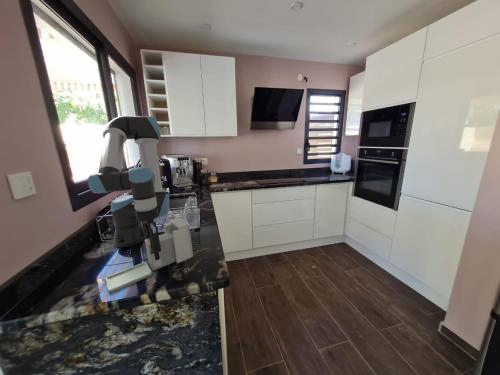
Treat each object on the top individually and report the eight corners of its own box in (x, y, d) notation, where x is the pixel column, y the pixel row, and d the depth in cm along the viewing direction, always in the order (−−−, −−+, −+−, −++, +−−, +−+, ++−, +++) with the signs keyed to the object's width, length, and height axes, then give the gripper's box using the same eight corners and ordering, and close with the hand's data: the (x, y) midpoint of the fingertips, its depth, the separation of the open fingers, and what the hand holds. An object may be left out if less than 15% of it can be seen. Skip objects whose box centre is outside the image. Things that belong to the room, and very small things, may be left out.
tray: (105, 279, 72) (105, 277, 72) (145, 264, 81) (145, 261, 80) (109, 293, 65) (108, 290, 65) (152, 275, 74) (152, 272, 73)
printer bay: (167, 252, 89) (163, 221, 85) (182, 247, 93) (178, 217, 90) (177, 263, 80) (172, 229, 77) (193, 256, 85) (189, 224, 82)
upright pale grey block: (148, 264, 80) (144, 239, 78) (173, 254, 87) (169, 231, 84) (153, 270, 76) (148, 244, 73) (178, 260, 82) (175, 235, 80)
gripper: (129, 205, 79) (139, 256, 84) (141, 217, 65) (152, 278, 70) (149, 201, 83) (157, 250, 89) (165, 211, 69) (173, 269, 74)
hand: (155, 262), depth 79 cm, fingers closed on upright pale grey block, 6 cm apart
